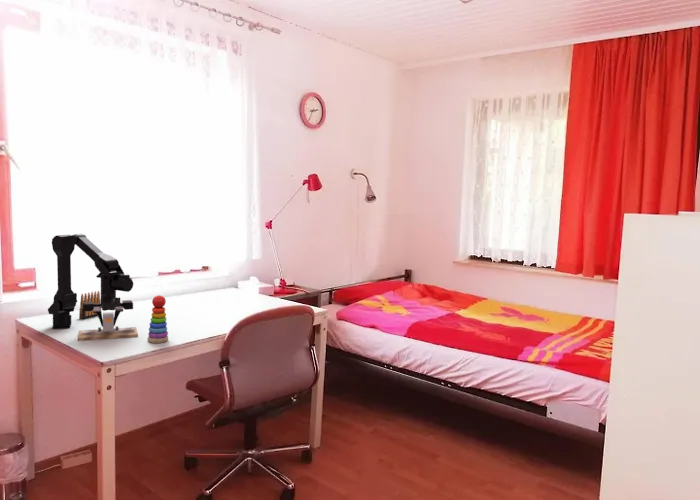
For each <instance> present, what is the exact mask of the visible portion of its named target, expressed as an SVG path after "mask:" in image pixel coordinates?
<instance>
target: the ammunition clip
mask: <svg viewBox="0 0 700 500" xmlns="http://www.w3.org/2000/svg"><path fill="white" fill-rule="evenodd" d="M84 302H94V304H101V292H100V290H97V291H96V290H94V292H93V291H91V292H88V293H86V292H85V293H84V294H83V293H81V295H80V303H79V304H80V305H79V307H80V308H79V314H78V315H79V318H78V319H79V320H81V321H83V320H88V319H91V318H95V317H98V316H97V314H96V313H93V310H92V311H83V303H84Z"/></svg>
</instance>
